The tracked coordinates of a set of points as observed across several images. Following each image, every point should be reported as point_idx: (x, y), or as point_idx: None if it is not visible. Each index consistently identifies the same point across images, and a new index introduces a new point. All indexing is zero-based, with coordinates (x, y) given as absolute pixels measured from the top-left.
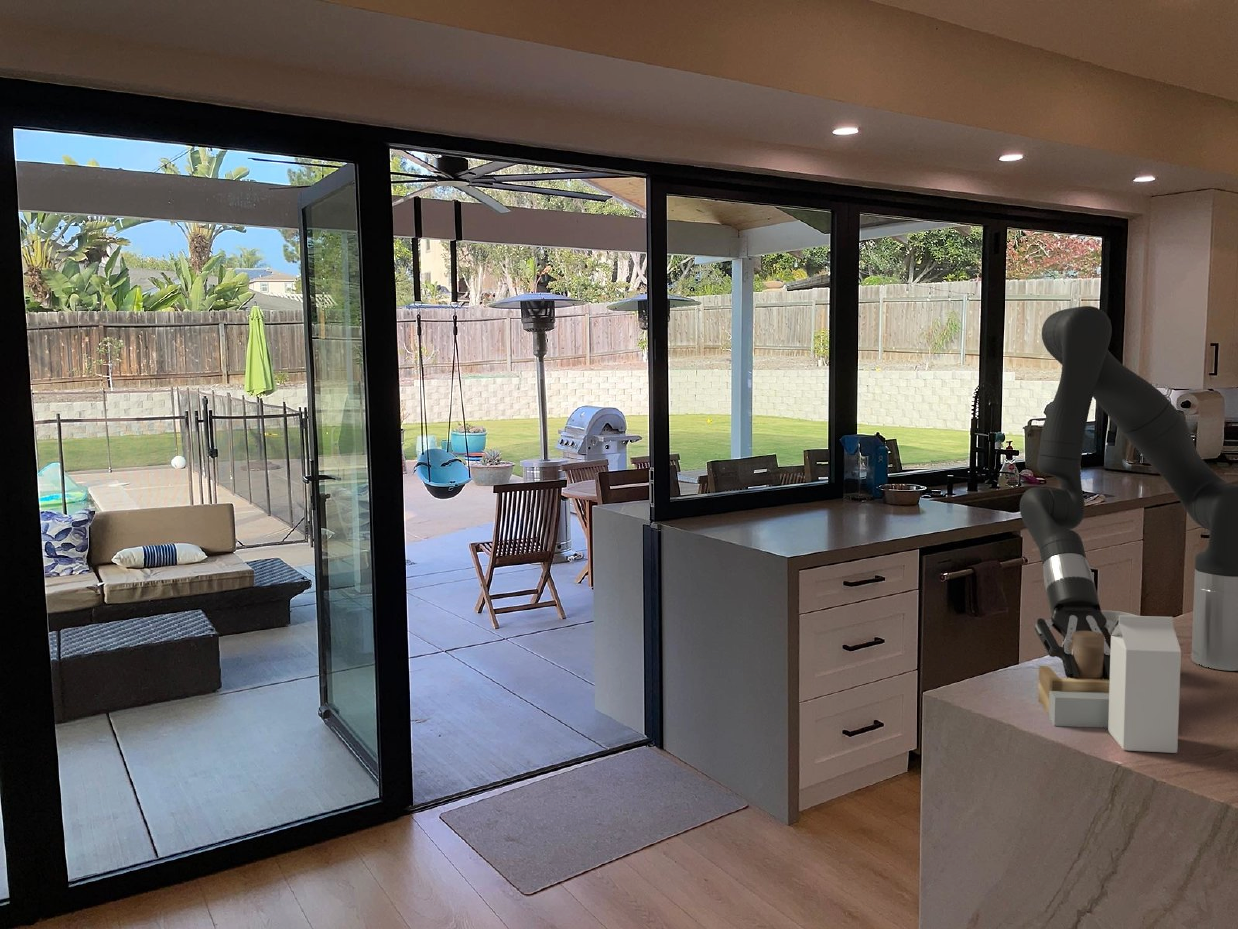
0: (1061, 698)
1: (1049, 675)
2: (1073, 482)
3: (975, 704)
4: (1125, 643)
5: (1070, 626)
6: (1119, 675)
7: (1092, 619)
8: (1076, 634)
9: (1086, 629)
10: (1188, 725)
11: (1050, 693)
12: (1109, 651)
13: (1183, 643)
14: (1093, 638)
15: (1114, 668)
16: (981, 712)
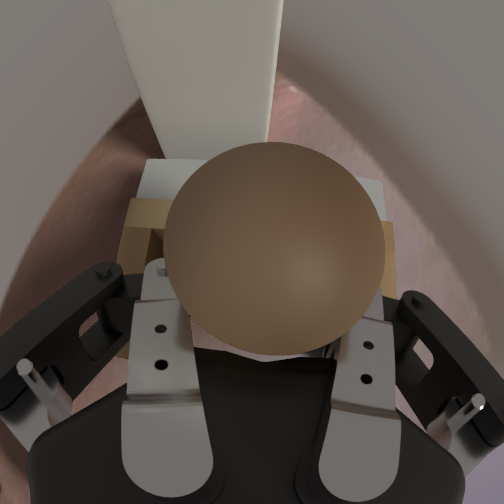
0: (367, 178)
1: (390, 274)
2: None
3: (459, 326)
4: None
5: (378, 393)
6: (280, 22)
7: (143, 443)
8: (370, 240)
9: (227, 404)
10: (91, 217)
11: (384, 219)
12: (156, 262)
13: None
14: (281, 145)
15: (278, 35)
16: (457, 283)
